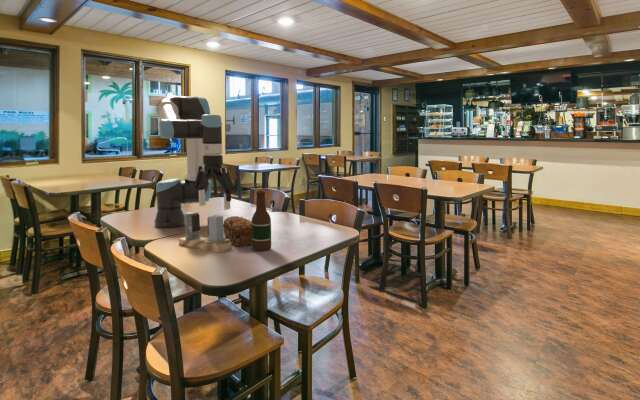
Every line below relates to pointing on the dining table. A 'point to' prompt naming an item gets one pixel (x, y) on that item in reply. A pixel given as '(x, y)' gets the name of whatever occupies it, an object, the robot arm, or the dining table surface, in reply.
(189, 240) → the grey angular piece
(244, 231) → the bread
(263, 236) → the beer bottle
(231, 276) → the dining table surface
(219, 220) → the block
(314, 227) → the dining table surface
